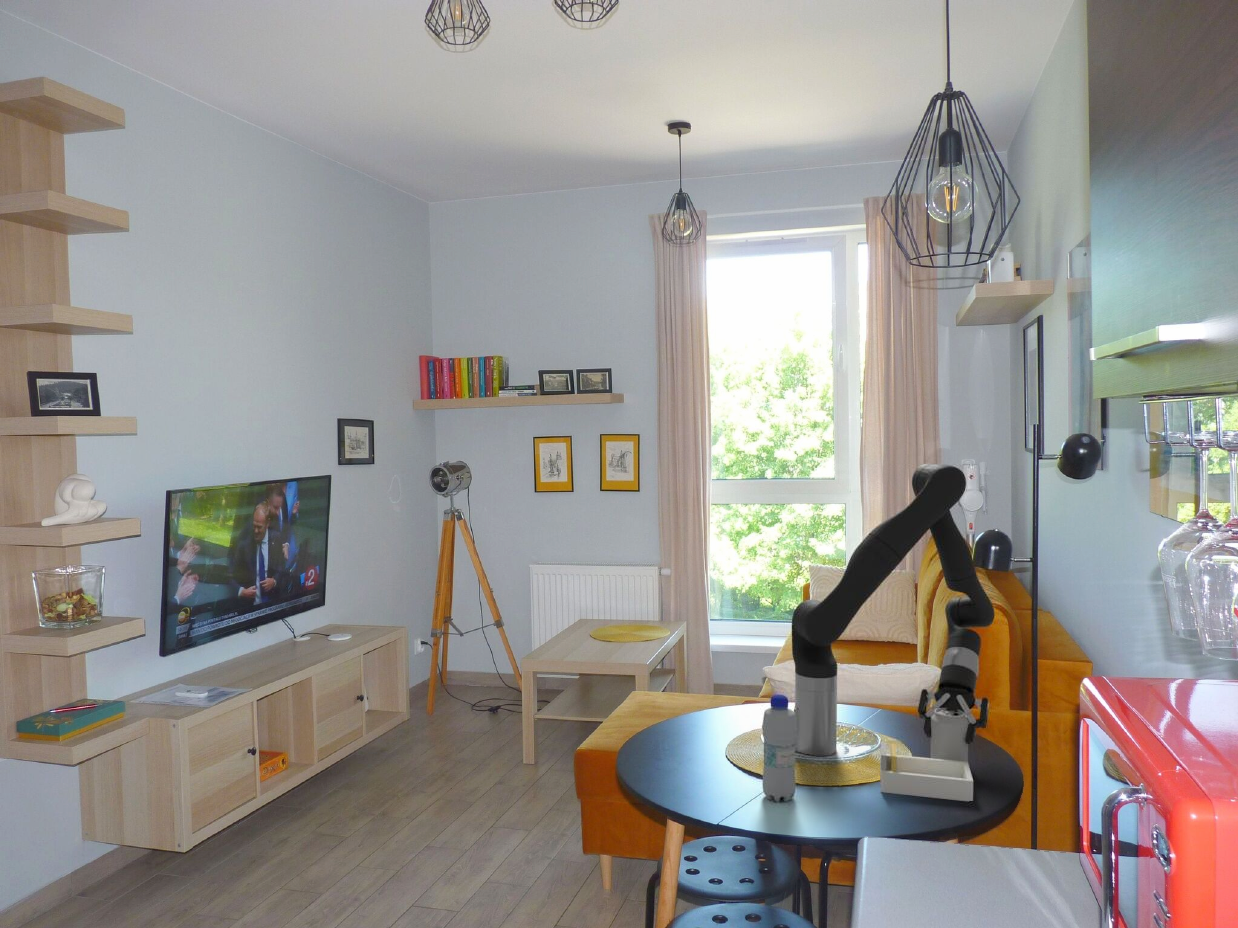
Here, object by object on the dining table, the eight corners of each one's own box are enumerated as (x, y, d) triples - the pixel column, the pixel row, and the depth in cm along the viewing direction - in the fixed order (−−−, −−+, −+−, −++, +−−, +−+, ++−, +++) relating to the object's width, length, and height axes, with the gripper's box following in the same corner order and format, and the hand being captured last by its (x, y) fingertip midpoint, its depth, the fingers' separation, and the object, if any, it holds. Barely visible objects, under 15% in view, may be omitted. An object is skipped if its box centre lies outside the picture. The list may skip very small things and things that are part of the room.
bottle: (775, 806, 170) (776, 701, 170) (754, 794, 176) (755, 692, 176) (803, 800, 174) (804, 697, 173) (782, 788, 180) (782, 688, 179)
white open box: (880, 791, 178) (881, 756, 178) (880, 772, 189) (880, 739, 188) (972, 801, 173) (973, 765, 173) (967, 781, 184) (967, 746, 184)
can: (970, 774, 187) (971, 717, 187) (932, 771, 189) (933, 714, 189) (964, 762, 195) (965, 707, 194) (928, 759, 196) (928, 704, 196)
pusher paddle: (891, 783, 179) (891, 756, 179) (890, 769, 186) (891, 743, 186) (896, 784, 179) (896, 756, 178) (895, 770, 186) (896, 743, 186)
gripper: (923, 659, 201) (910, 724, 192) (992, 667, 194) (982, 735, 184) (928, 677, 206) (916, 742, 196) (995, 686, 199) (986, 754, 189)
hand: (948, 738), depth 190 cm, fingers closed on can, 7 cm apart
